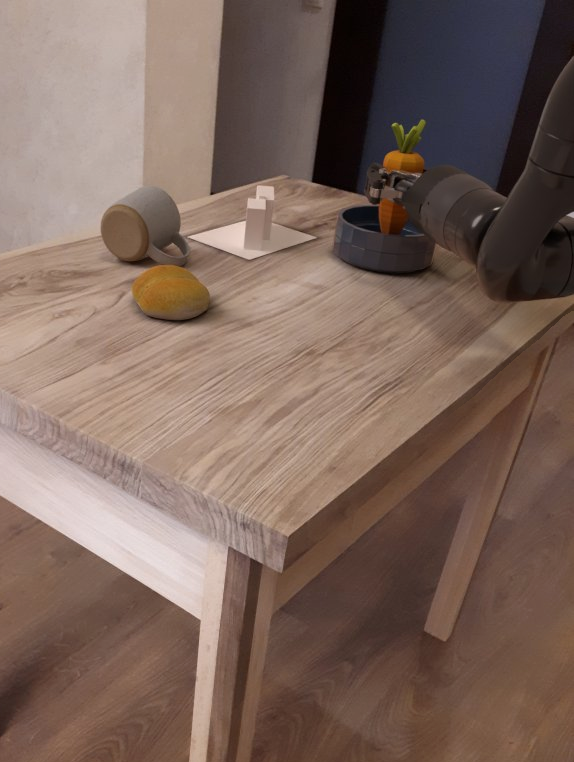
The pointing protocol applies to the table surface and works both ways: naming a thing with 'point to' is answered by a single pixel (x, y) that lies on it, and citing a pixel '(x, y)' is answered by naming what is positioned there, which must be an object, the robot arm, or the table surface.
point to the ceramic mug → (144, 227)
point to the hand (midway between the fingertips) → (392, 171)
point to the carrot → (402, 159)
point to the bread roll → (170, 293)
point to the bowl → (379, 243)
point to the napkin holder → (254, 230)
